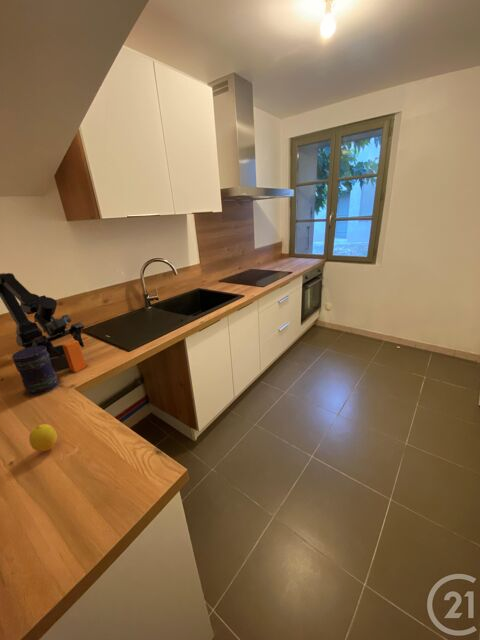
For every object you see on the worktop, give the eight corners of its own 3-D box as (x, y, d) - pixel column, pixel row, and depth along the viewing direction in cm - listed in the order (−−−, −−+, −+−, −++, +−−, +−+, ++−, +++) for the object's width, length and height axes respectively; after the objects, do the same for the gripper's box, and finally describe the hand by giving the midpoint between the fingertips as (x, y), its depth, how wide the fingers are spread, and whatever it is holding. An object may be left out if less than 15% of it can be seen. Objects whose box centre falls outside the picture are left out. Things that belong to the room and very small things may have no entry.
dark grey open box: (44, 361, 117) (40, 350, 115) (76, 352, 123) (73, 341, 121) (43, 374, 106) (38, 362, 104) (78, 363, 112) (74, 352, 110)
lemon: (45, 441, 72) (36, 418, 69) (65, 440, 72) (56, 417, 69) (30, 458, 67) (19, 434, 64) (51, 458, 67) (40, 434, 64)
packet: (70, 370, 107) (61, 344, 103) (81, 365, 111) (73, 339, 107) (75, 372, 106) (66, 345, 101) (86, 366, 110) (78, 340, 105)
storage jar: (20, 393, 94) (4, 357, 89) (46, 378, 103) (33, 344, 98) (39, 397, 91) (24, 360, 86) (65, 381, 100) (52, 346, 94)
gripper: (25, 319, 94) (51, 351, 93) (75, 304, 110) (98, 331, 109) (21, 336, 101) (47, 366, 100) (69, 319, 116) (91, 345, 115)
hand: (72, 351), depth 106 cm, fingers open, 9 cm apart
